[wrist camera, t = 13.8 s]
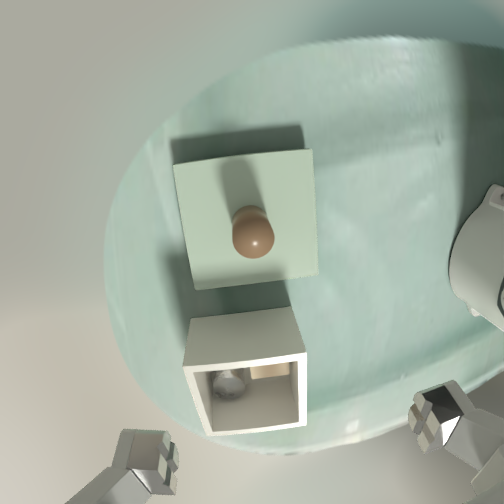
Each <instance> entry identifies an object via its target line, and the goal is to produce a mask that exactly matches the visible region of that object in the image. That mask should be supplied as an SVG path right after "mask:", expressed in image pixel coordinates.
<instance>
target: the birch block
mask: <svg viewBox="0 0 504 504" xmlns="http://www.w3.org/2000/svg"><path fill="white" fill-rule="evenodd" d="M250 371H251V377H252V379H258V378H266V377H273V376H281V375H287V374H290V372H289V362H284V363H277V364H270V365H262V366H254V367H250Z"/></svg>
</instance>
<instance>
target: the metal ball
mask: <svg viewBox="0 0 504 504" xmlns="http://www.w3.org/2000/svg"><path fill="white" fill-rule="evenodd" d="M213 390H214V393H215V394H216V395H217V396H218V397H220V398H223V399H236V398H239V397H240V396H242V395H243V394H244V392H245V376H244V368H237V369H227V370H216V371H214V384H213Z"/></svg>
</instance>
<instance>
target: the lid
mask: <svg viewBox="0 0 504 504" xmlns="http://www.w3.org/2000/svg"><path fill="white" fill-rule="evenodd" d="M173 170H174V177H175V183H176V190H177V196H178V202H179V208H180V214H181V220H182V225H183V231H184V236H185V242H186V247H187V252H188V258H189V263H190V268H191V273H192V278H193V283H194V288H195V290H204V289H212V288H221V287H230V286H238V285H246V284H254V283H262V282H270V281H278V280H286V279H293V278H301V277H308V276H315V275H318V245H317V220H316V201H315V184H314V169H313V156H312V149H309V148H308V149H294V150H282V151H271V152H261V153H251V154H242V155H234V156H226V157H218V158H211V159H204V160H197V161H190V162H184V163H177V164H174V165H173Z"/></svg>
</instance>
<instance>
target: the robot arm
mask: <svg viewBox="0 0 504 504" xmlns="http://www.w3.org/2000/svg"><path fill="white" fill-rule="evenodd" d="M449 277H450V283H451V287H452V289H453V292H454V293H455V295H456V296H457V297H458V298H459V299H461V300H462V301H464V302H465V303H466V304H467V307H468V310H469V312H470V313H471V314H472V315H473V316H475V317H477V316H479V315H482V316H483V317H484V318H486V319H487V320H489V321H490V322H491V323H493V324H494V325H495V326H497V327H498V328H499V329H501V330H502V331H504V187H503V186H499V185H496V184H493V185H492V186H491V187H490V188H489V190H488V192H487V194H486V196H485V198H484V200H483V202H482V204H481V205H480V206H479V207H478V208H477V209H476V210H475V211H474V212H473V213H472V214H471V216H470V217H469V218H468V219H467V221H466V222H465V224H464V225H463V227H462V229H461V230H460V232H459V234H458V236H457V239H456V241H455V244H454V247H453V250H452V254H451V259H450V267H449ZM413 400H414V402H415V403H414V404H413V405H412V406H411V407H410V410H409V413H408V421H409V425H410V427H411V429H412V432H414V433H416V434H418V435H419V436H418V440H417V442H418V443H419V445H420V447H421V449H422V451H423V453H424V454H427V453H429V452H432V451H435V450H437V449H440V448H442V447H444V448H445V449H446V450H448V451H449V452H451V453H452V454H454V455H455V456H457V457H458V458H460V459H461V460H463V461H465V462H466V463H467V464H469V465H471V466H472V467H474V468H475V469H477V470H478V471H479V472H478V474H477V475H476V476H475V477H474V478H473V479H472V482H471V485H472V487H473V489H474V492H475V494H476V497H474V498H472V499H470V500H468V501H467V502H465V503H463V504H504V419H503V418H500V417H498V416H496V415H493V414H491V413H489V412H487V411H485V410H482V409H480V408H478V409H476V408H475V407H474V406H473V404H472V403H471V401H470V400H469V399H468V397H467V396H466V394H465V393H464V392H463V390H462V389H461V388H460V386H459V385H458V383H457V382H456V381H454V380H450V381H448V382H445V383H443V384H439V385H436V386H433V387H431V388H428V389H425V390H422V391H419V392H417V393H416V394H415V395H414V398H413ZM170 440H171V436H170V434H169V432H168V431H158V430H157V431H156V430H137V429H123V430H122V432H121V433H120V437H119V440H118V444H117V448H116V452H115V455H114V459H113V462H112V466H111V467H107V468H106V469H105V470H103V471H102V472H101V473H100V474H99V475H98V476H97V477H95V478H94V479H93V480H92V481H91V482H90V483H89V484H87V485H86V486H85V487H84V488H83V489H82V490H81V491H79V492H78V493H77V494H76V495H74V496H73V497H72V498H71V499H70V500H69V501H67V502H66V503H65V504H145V503H146V502H147V501H148V499H149V498H150V497H151V494H158V495H176V486H177V478H176V477H175V475H174V472H175V471H176V470H177V469H178V466H179V456H178V451H177V448H176V445H175V444H174V443H172V442H171V441H170Z"/></svg>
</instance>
